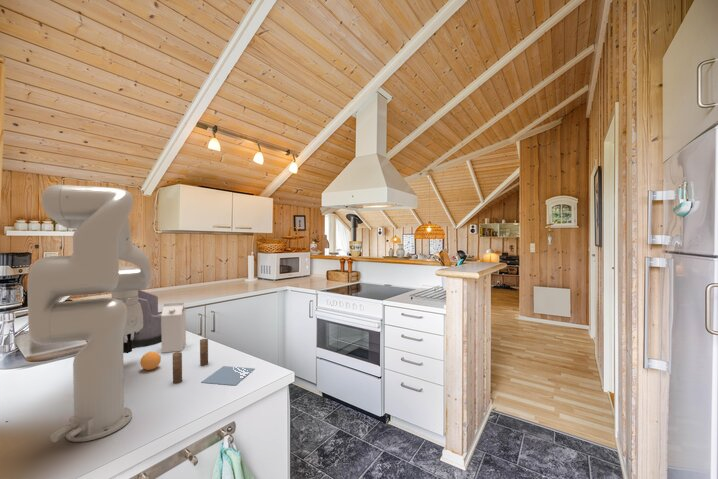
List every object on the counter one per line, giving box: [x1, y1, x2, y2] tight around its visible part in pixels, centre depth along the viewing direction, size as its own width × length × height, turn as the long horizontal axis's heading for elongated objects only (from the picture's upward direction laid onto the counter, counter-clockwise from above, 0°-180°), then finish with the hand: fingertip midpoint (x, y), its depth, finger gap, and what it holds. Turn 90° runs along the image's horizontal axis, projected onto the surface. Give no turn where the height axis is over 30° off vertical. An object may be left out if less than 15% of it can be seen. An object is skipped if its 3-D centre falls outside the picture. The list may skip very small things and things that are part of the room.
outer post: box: [199, 338, 209, 367], centre depth 113 cm, size 3×3×9 cm
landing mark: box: [201, 365, 256, 386], centre depth 104 cm, size 12×12×1 cm
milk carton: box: [160, 302, 187, 354], centre depth 127 cm, size 7×7×19 cm
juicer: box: [85, 290, 162, 350], centre depth 132 cm, size 30×16×24 cm, turn 146°
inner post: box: [172, 351, 183, 384], centre depth 100 cm, size 3×3×9 cm
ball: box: [139, 351, 162, 371], centre depth 109 cm, size 6×6×6 cm
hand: (126, 351), depth 111 cm, fingers closed
